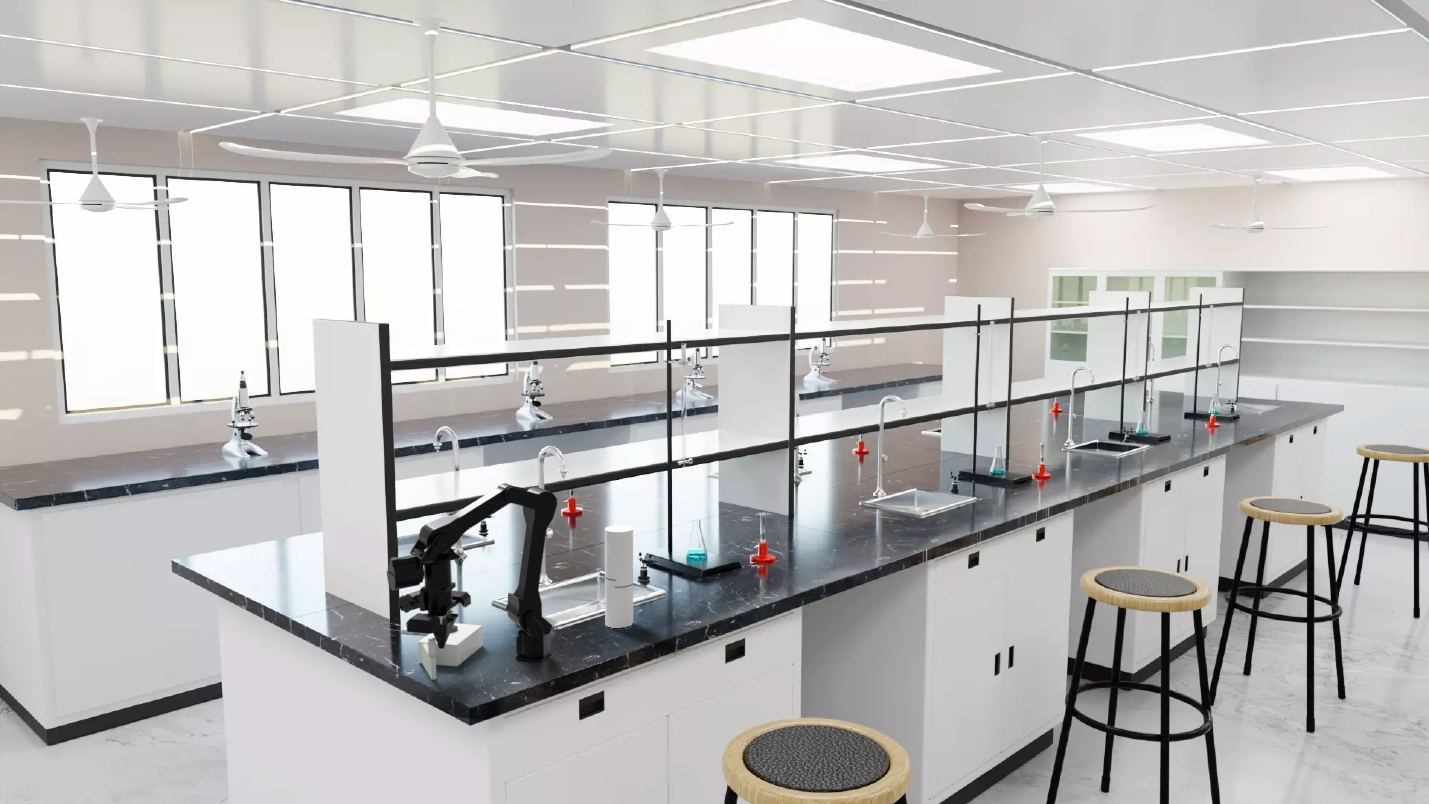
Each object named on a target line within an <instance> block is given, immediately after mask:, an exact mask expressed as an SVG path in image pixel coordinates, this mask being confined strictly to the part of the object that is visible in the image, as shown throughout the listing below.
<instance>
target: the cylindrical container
mask: <svg viewBox="0 0 1429 804" xmlns="http://www.w3.org/2000/svg"><path fill="white" fill-rule="evenodd" d="M604 599H605V600H604V603H605V605H604V606H605V607H604V613H605V614H604V618H605V619H604V620H605V621H604V622H605V623H604V624H605V627H606V626H608V627H611V628H610V629H612V628H621V627H626V626H631V625H632V623H633V624H634V527H632V526H629V525H622V524H621V525H620V524H619V525H609V526H607V527H604ZM608 627H607V628H608ZM631 627H632V626H631Z"/></svg>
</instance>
